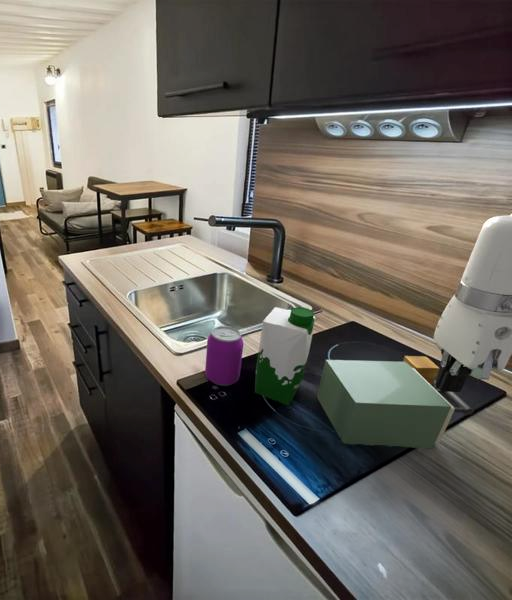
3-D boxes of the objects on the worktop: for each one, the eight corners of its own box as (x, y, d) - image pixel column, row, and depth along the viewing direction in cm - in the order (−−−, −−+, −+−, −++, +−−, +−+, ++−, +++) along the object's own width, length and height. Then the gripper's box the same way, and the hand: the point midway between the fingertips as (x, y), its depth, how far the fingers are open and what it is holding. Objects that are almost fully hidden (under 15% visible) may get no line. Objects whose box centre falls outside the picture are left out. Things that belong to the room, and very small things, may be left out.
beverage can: (210, 389, 81) (213, 343, 76) (201, 368, 88) (203, 325, 83) (244, 386, 81) (250, 341, 76) (232, 366, 88) (237, 323, 83)
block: (420, 372, 82) (426, 356, 80) (433, 385, 78) (439, 368, 76) (398, 371, 83) (404, 355, 81) (410, 384, 79) (416, 367, 77)
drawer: (431, 400, 73) (444, 368, 70) (474, 444, 63) (492, 410, 60) (330, 396, 76) (338, 365, 72) (356, 438, 65) (367, 404, 62)
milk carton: (292, 410, 74) (310, 324, 65) (248, 393, 79) (259, 311, 71) (304, 387, 80) (321, 306, 71) (262, 373, 85) (274, 295, 77)
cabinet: (392, 400, 75) (405, 361, 71) (432, 448, 64) (451, 406, 60) (316, 397, 77) (325, 359, 73) (343, 444, 66) (355, 402, 62)
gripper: (562, 319, 50) (505, 420, 58) (478, 278, 63) (441, 365, 71) (500, 318, 51) (453, 417, 59) (430, 278, 64) (399, 363, 72)
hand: (447, 388), depth 65 cm, fingers closed
